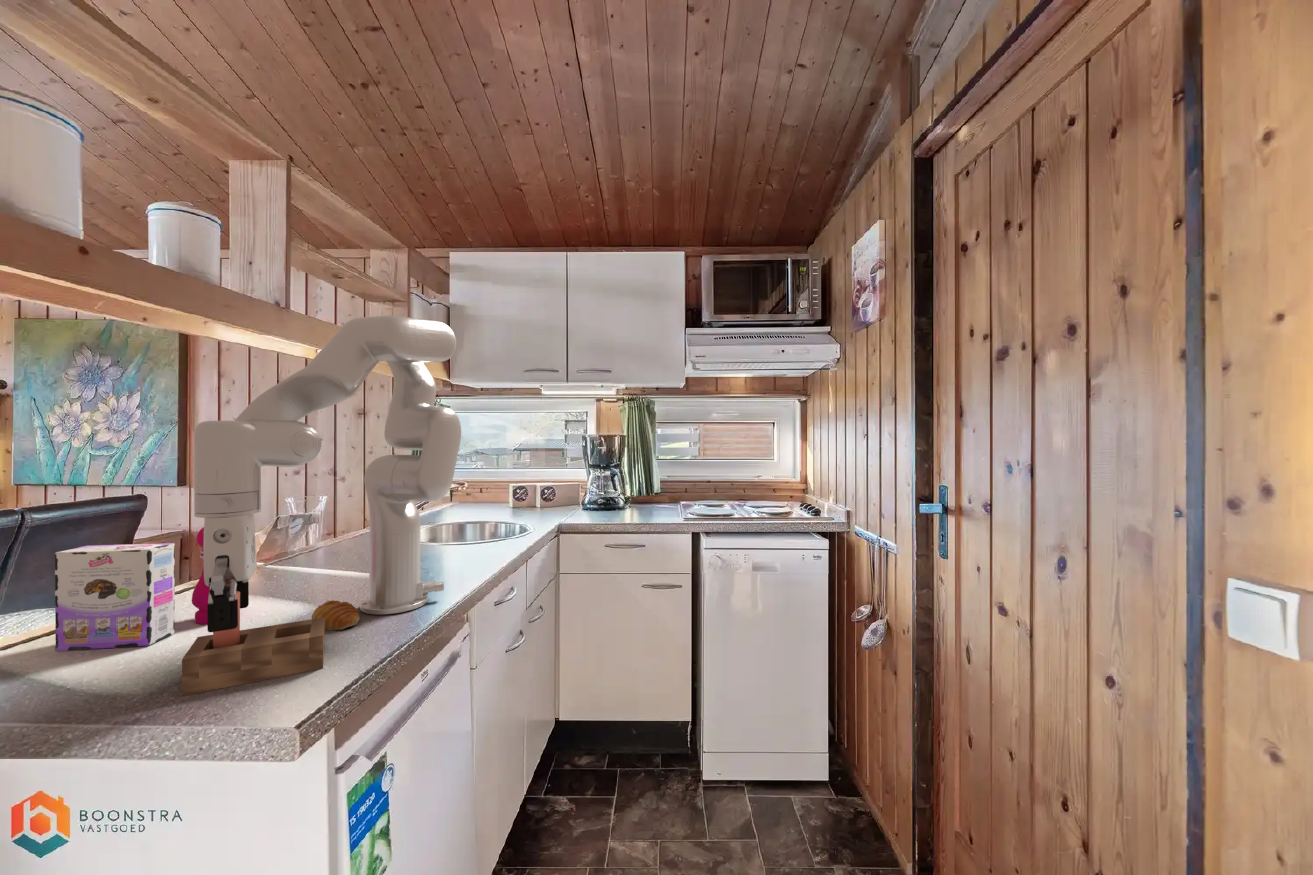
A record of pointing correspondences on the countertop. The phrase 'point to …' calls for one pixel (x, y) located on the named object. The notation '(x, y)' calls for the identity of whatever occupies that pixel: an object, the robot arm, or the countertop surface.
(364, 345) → the robot arm
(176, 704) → the countertop surface
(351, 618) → the pastry
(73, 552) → the candy box
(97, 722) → the countertop surface
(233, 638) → the peg
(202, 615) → the pepper mill
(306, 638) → the hole block
